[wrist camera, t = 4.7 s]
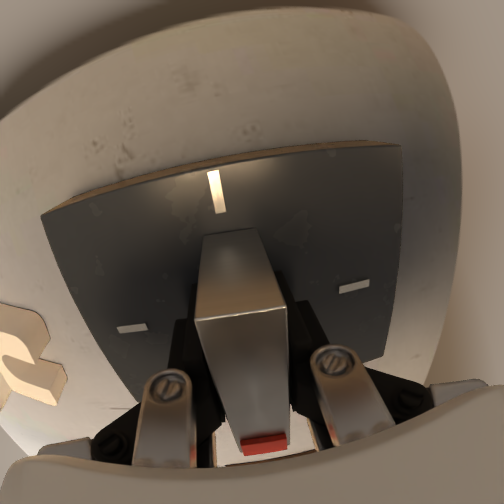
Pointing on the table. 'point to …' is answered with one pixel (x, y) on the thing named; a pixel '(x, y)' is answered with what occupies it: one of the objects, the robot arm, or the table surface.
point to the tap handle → (245, 339)
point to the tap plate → (227, 220)
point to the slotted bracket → (27, 358)
